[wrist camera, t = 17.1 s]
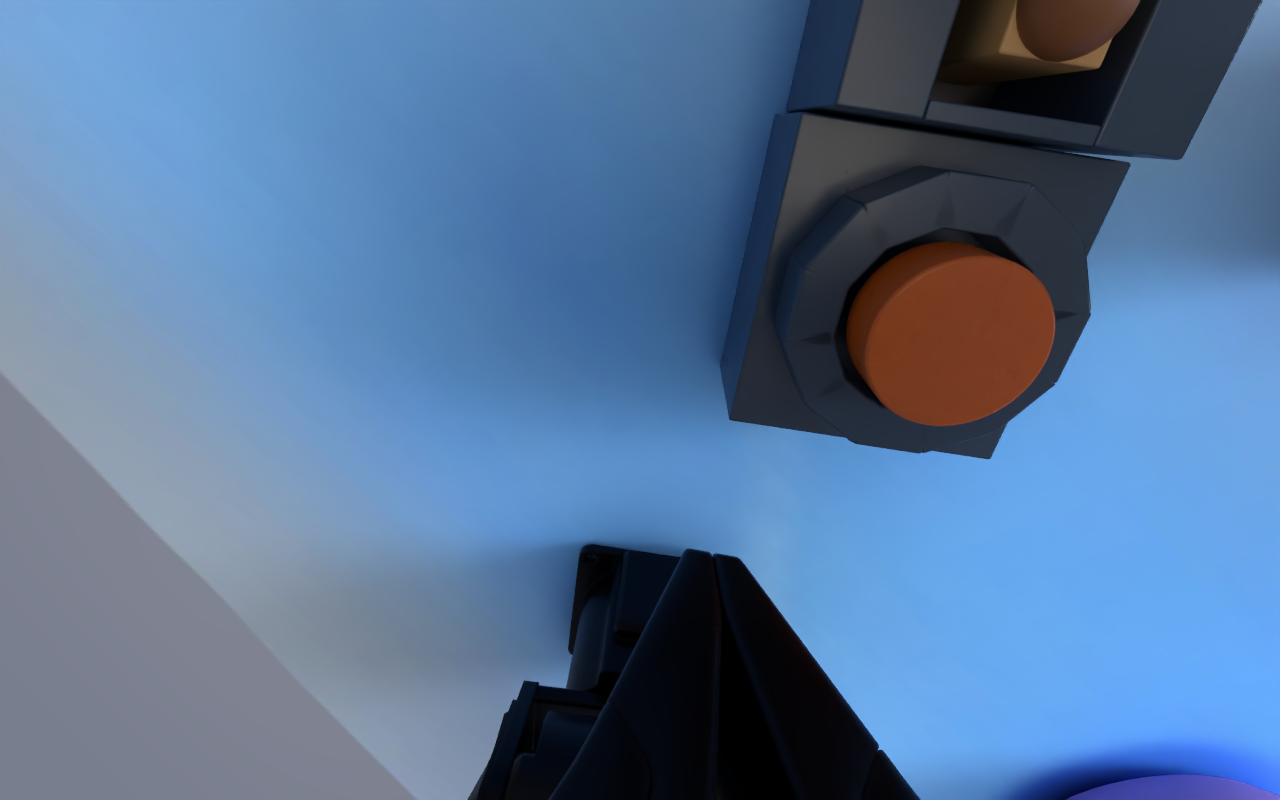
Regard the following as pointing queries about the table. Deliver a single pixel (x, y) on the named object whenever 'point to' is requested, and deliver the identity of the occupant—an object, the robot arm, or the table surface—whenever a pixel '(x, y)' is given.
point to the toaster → (1025, 108)
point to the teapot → (1177, 789)
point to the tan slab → (1029, 38)
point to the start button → (949, 332)
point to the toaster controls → (876, 232)
